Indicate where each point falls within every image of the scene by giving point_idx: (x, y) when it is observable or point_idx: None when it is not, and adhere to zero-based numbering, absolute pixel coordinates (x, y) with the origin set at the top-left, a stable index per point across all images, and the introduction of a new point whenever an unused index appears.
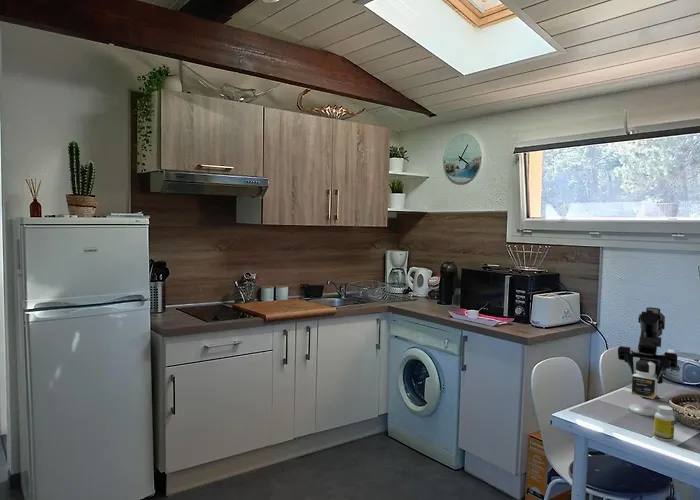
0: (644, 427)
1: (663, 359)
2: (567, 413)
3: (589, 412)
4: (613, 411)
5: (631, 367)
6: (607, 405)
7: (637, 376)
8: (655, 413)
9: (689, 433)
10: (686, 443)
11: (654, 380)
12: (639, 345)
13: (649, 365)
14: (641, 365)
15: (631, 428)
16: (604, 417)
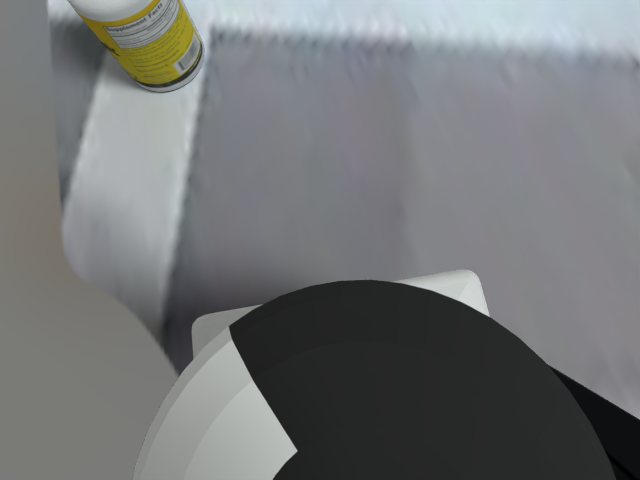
0: (266, 124)
1: None
2: (611, 9)
3: (553, 112)
4: (478, 241)
5: (613, 415)
6: (563, 332)
7: (410, 280)
8: None
9: (82, 218)
10: (81, 78)
11: (202, 318)
12: None
13: (222, 340)
14: (391, 287)
15: (306, 63)
16: (460, 103)
